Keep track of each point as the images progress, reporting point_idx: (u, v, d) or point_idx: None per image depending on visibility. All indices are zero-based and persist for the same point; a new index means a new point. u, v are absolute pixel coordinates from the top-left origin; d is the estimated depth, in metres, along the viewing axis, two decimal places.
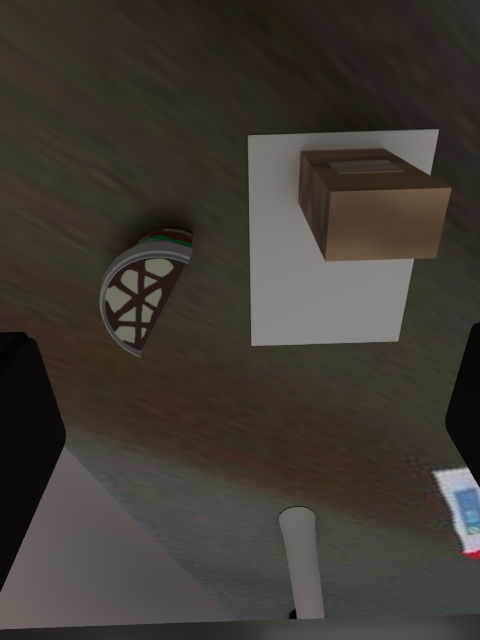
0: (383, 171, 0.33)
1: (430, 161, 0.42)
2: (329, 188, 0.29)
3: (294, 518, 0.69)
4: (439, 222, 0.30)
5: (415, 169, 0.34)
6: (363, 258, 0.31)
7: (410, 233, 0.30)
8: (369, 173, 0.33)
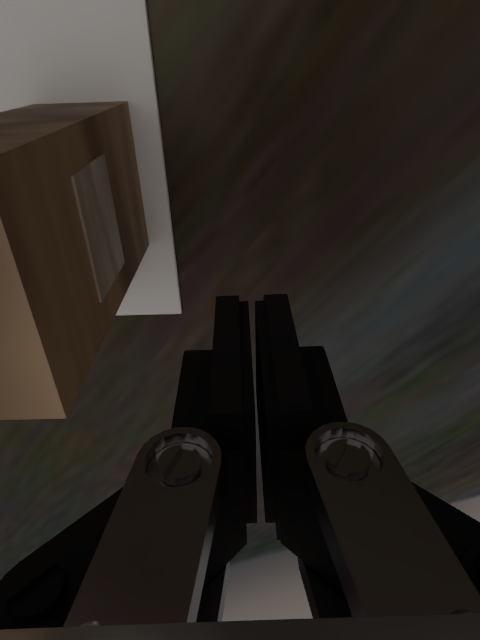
0: (93, 268, 0.17)
1: (138, 311, 0.29)
2: (0, 157, 0.11)
3: None
4: None
5: (109, 319, 0.19)
6: None
7: None
8: (83, 243, 0.16)
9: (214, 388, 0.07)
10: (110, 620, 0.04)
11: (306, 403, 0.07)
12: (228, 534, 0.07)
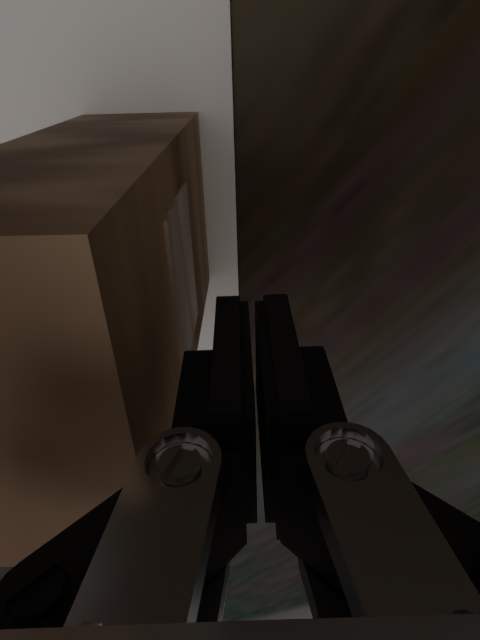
0: (179, 336, 0.13)
1: None
2: (106, 219, 0.07)
3: None
4: None
5: None
6: None
7: None
8: (172, 308, 0.12)
9: (214, 388, 0.07)
10: (110, 620, 0.04)
11: (306, 403, 0.07)
12: (228, 534, 0.07)
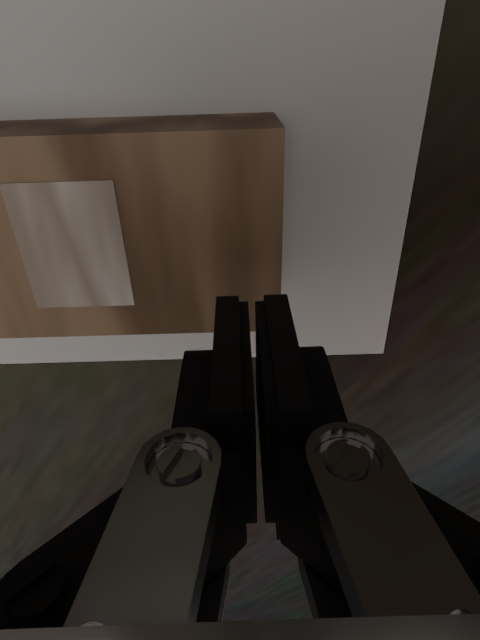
0: (28, 274, 0.17)
1: (334, 351, 0.25)
2: None
3: None
4: None
5: (60, 330, 0.18)
6: None
7: None
8: (12, 246, 0.16)
9: (214, 388, 0.07)
10: (110, 620, 0.04)
11: (306, 403, 0.07)
12: (228, 534, 0.07)
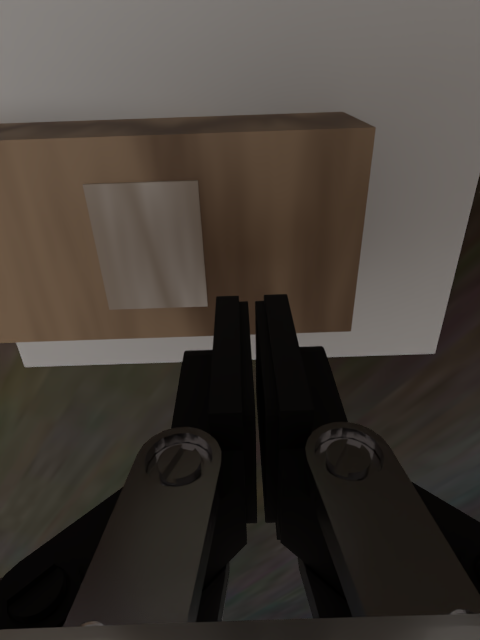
0: (104, 275, 0.17)
1: (386, 352, 0.25)
2: None
3: None
4: None
5: (130, 332, 0.18)
6: None
7: None
8: (90, 248, 0.16)
9: (214, 388, 0.07)
10: (110, 620, 0.04)
11: (306, 403, 0.07)
12: (228, 534, 0.07)
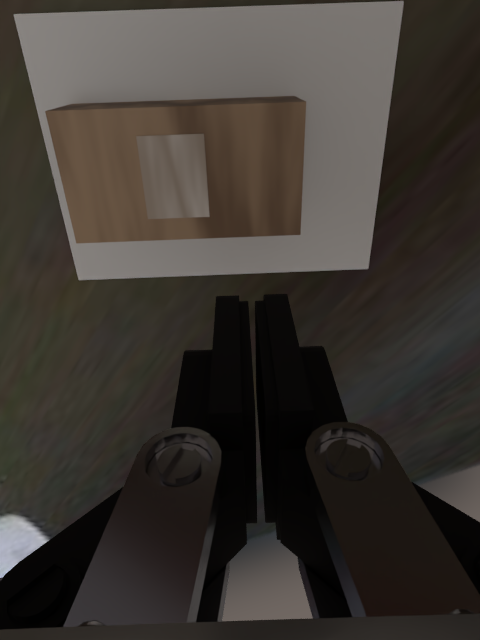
0: (145, 195, 0.27)
1: (333, 267, 0.36)
2: (60, 112, 0.25)
3: None
4: None
5: (160, 235, 0.29)
6: None
7: None
8: (138, 177, 0.27)
9: (214, 388, 0.07)
10: (110, 620, 0.04)
11: (306, 403, 0.07)
12: (228, 534, 0.07)
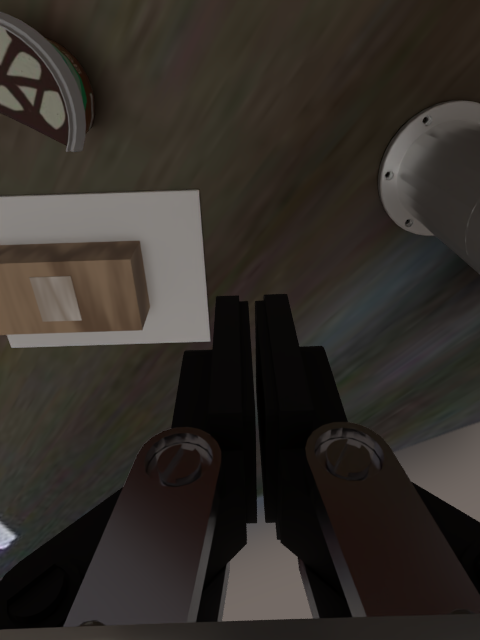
0: (39, 308, 0.44)
1: (186, 340, 0.52)
2: None
3: None
4: None
5: (52, 330, 0.45)
6: None
7: None
8: (33, 298, 0.43)
9: (214, 388, 0.07)
10: (110, 620, 0.04)
11: (306, 403, 0.07)
12: (228, 534, 0.07)
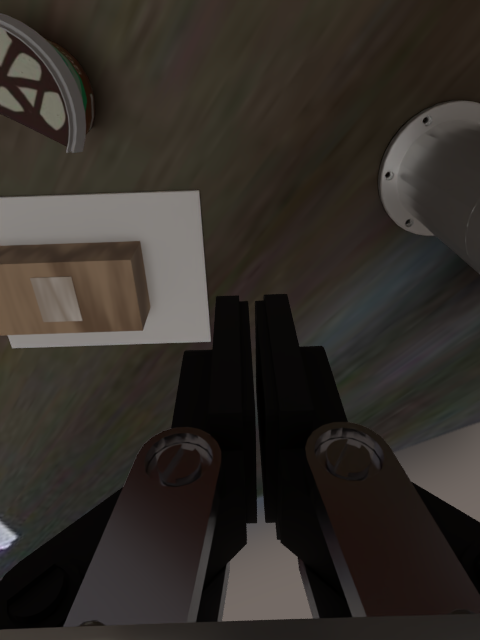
0: (40, 309, 0.44)
1: (186, 340, 0.52)
2: None
3: None
4: None
5: (53, 331, 0.45)
6: None
7: None
8: (34, 299, 0.43)
9: (214, 388, 0.07)
10: (110, 620, 0.04)
11: (306, 403, 0.07)
12: (228, 534, 0.07)
